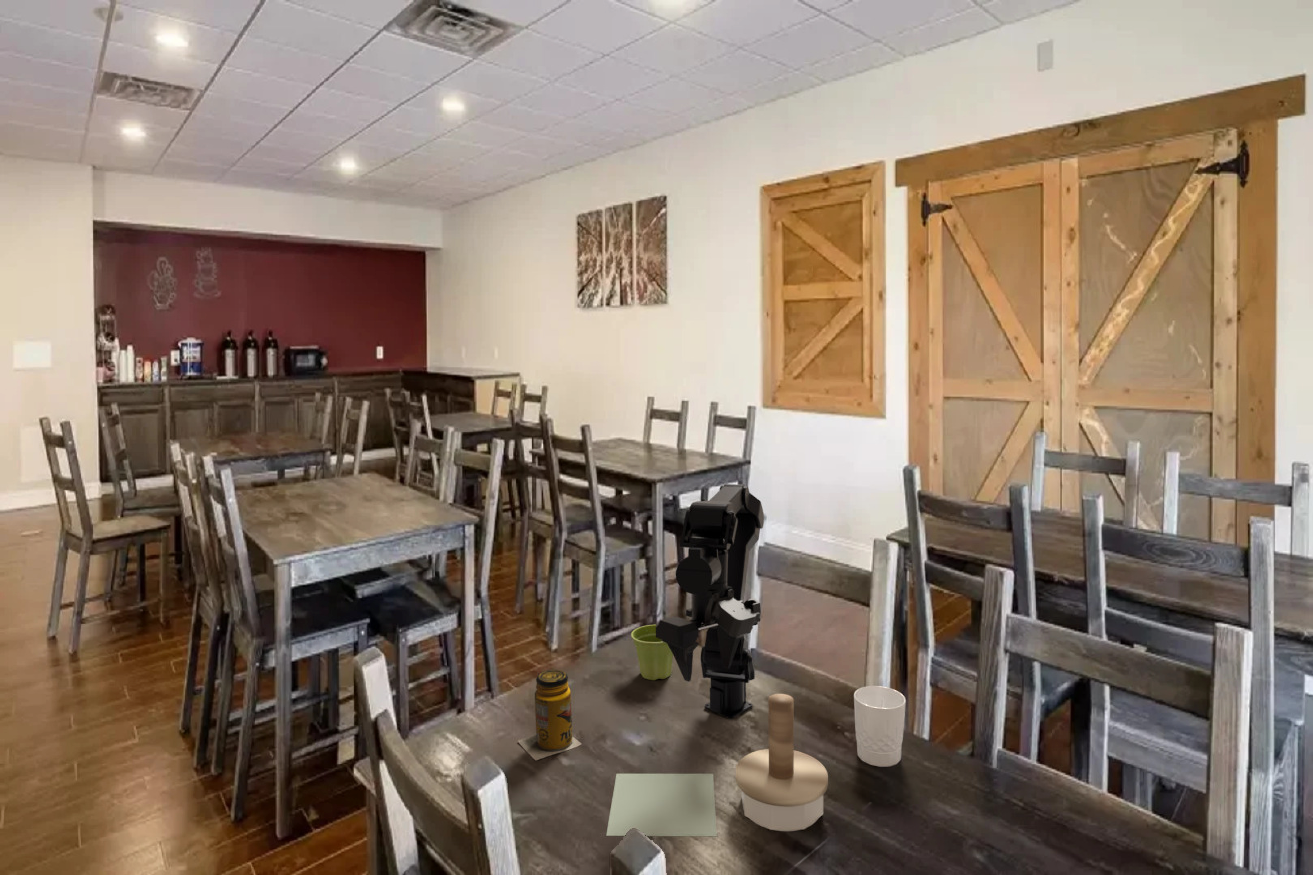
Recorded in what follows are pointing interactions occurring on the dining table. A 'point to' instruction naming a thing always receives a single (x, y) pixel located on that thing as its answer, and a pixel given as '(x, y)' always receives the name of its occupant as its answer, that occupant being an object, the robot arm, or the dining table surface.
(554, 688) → the condiment
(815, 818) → the ceramic bowl
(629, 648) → the dining table surface
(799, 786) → the birch cover
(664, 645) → the plant pot
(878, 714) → the white cup
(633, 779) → the sage mat
